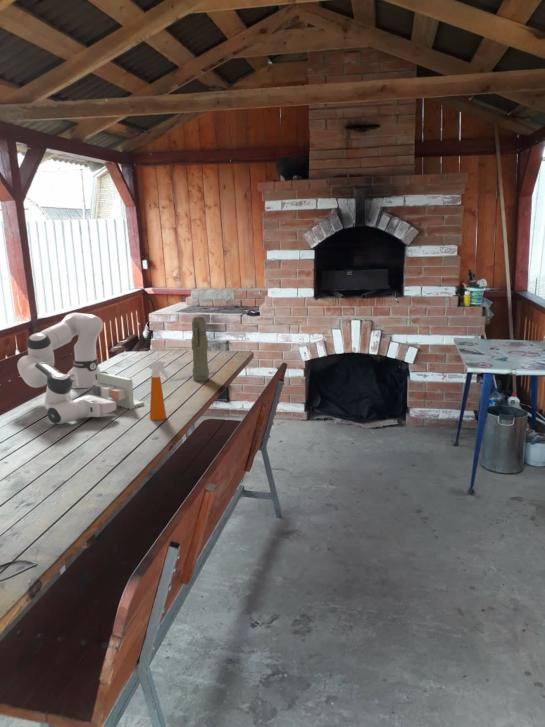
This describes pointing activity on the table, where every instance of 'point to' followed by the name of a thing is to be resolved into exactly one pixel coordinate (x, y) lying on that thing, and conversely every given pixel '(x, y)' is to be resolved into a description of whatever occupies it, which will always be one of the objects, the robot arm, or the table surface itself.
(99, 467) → the table surface
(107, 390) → the button cream
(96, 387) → the button charcoal
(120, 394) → the button terracotta
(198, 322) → the green thermos flask
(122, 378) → the panel
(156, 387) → the spray bottle
